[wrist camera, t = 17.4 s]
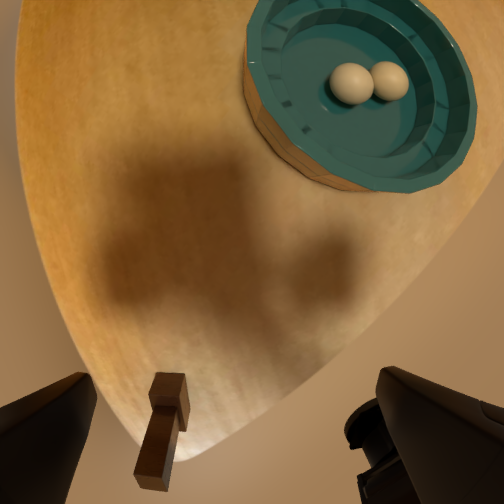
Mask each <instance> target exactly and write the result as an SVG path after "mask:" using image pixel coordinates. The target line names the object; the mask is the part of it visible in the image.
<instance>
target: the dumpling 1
mask: <svg viewBox="0 0 504 504" xmlns="http://www.w3.org/2000/svg"><path fill="white" fill-rule="evenodd" d="M330 88H331V90H332V92H333V94H334V95H335V97H336V98H338V99H339V100H340V101H342V102H344V103H346V104H350V105H358V104H361V103H364V102H365V101H367V100H368V99H369V98H370V97H371V95H372V93H373V90H374V82H373V79H372V76H371V74H370V73H369V72H368V71H367V70H366V69H365V68H364V67H362V66H361V65H358V64H355V63H344V64H341V65H339V66H337V67H336V68H335V69H334V70H333V72H332V73H331V76H330Z"/></svg>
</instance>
